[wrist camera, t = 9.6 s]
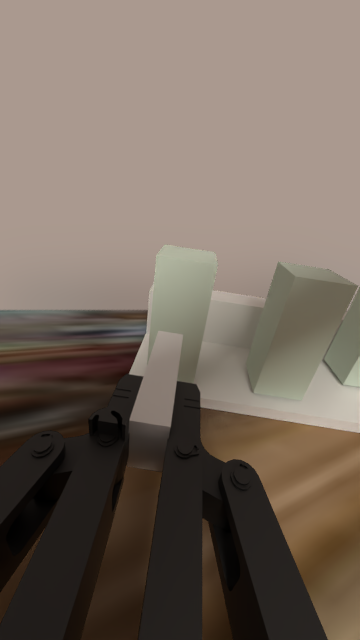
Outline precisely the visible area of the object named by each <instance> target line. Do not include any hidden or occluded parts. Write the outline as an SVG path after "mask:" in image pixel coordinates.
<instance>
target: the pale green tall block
mask: <svg viewBox="0 0 360 640" xmlns="http://www.w3.org/2000/svg"><path fill="white" fill-rule="evenodd" d="M324 360H325V361H326V362H327V364H328V365H329V366H330V368H331V369H332V371H333V372H334V373H335V375H336V376H337V377H338V379H339V380H340V381H341V383H342V384H343V385H349V386H356V387H360V288H359V290H358V292H357V294H356V296H355V298H354V300H353V302H352V304H351V306H350V308H349V310H348V312H347V314H346V316H345V318H344V320H343V322H342V324H341V326H340V328H339V330H338V332H337V334H336V336H335V338H334V340H333V342H332V344H331V346H330V348H329V350H328V352H327V354H326V356H325V358H324Z"/></svg>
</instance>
